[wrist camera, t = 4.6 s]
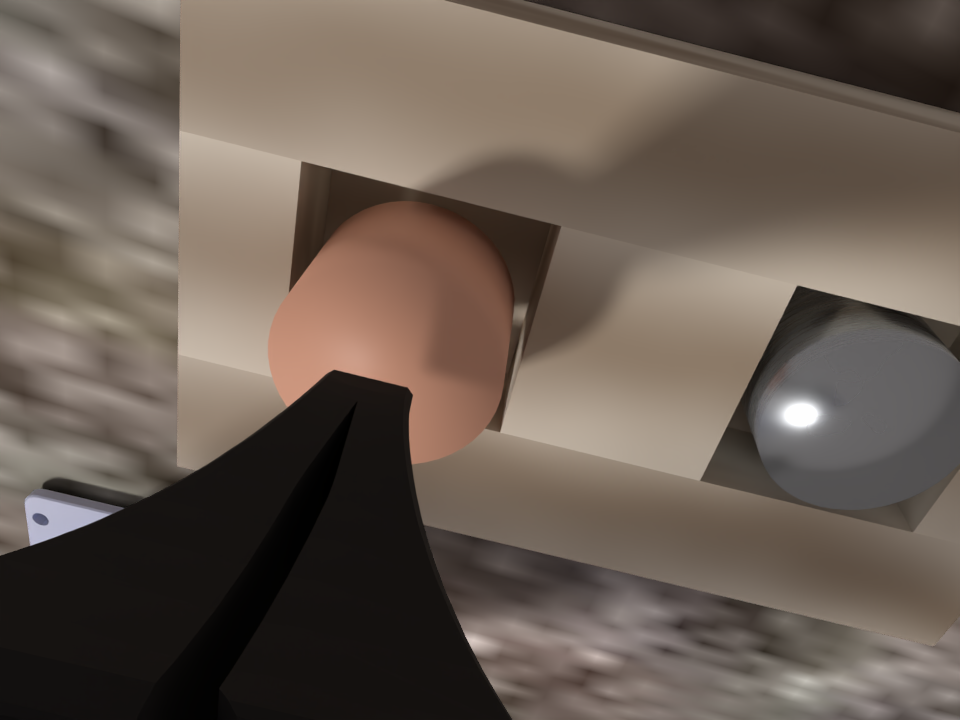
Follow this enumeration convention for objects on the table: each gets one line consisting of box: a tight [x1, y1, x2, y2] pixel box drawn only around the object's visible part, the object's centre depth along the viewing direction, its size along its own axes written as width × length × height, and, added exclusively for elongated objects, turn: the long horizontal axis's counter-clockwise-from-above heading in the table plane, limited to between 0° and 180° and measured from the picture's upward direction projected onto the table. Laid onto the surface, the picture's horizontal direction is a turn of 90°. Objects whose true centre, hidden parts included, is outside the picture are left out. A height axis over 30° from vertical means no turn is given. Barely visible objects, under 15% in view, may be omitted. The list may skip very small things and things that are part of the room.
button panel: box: [177, 0, 960, 646], centre depth 17 cm, size 12×20×3 cm, turn 77°
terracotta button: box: [268, 201, 515, 464], centre depth 15 cm, size 4×4×3 cm
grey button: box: [740, 286, 960, 510], centre depth 17 cm, size 4×4×3 cm
